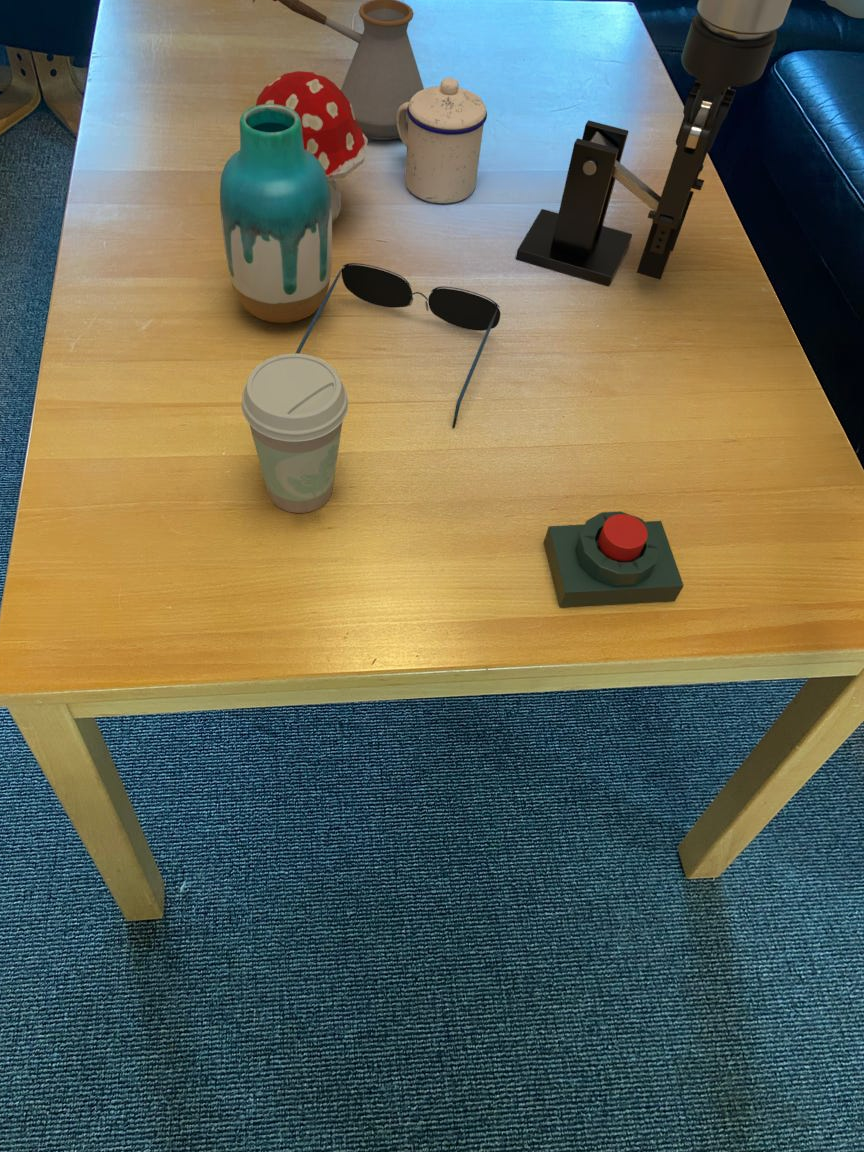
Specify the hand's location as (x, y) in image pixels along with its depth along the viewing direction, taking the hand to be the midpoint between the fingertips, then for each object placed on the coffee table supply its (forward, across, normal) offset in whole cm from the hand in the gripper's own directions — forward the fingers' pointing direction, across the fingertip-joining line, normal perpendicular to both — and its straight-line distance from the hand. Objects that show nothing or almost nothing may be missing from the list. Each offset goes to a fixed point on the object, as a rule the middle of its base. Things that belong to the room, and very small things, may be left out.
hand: (655, 259), depth 95 cm
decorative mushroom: (+2, +8, -39) cm, 40 cm away
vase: (+2, +24, -34) cm, 42 cm away
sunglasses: (+2, +26, -20) cm, 33 cm away
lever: (-6, 0, -5) cm, 8 cm away
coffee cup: (+2, +46, -21) cm, 51 cm away
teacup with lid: (+2, -6, -29) cm, 30 cm away
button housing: (+2, +43, +7) cm, 44 cm away
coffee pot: (+2, -13, -44) cm, 46 cm away
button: (-2, +43, +7) cm, 44 cm away
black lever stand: (+2, 0, -9) cm, 9 cm away
